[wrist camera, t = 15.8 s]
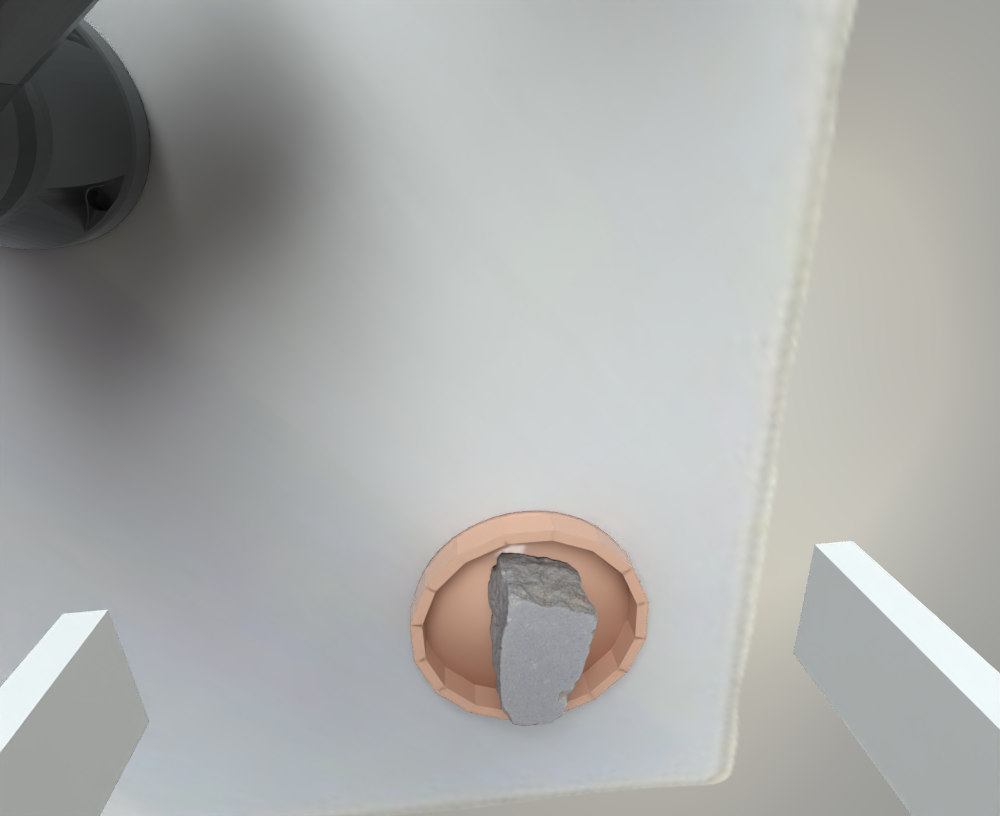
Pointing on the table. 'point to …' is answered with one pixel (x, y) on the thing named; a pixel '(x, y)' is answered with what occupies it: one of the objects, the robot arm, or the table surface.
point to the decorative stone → (537, 635)
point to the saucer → (467, 615)
